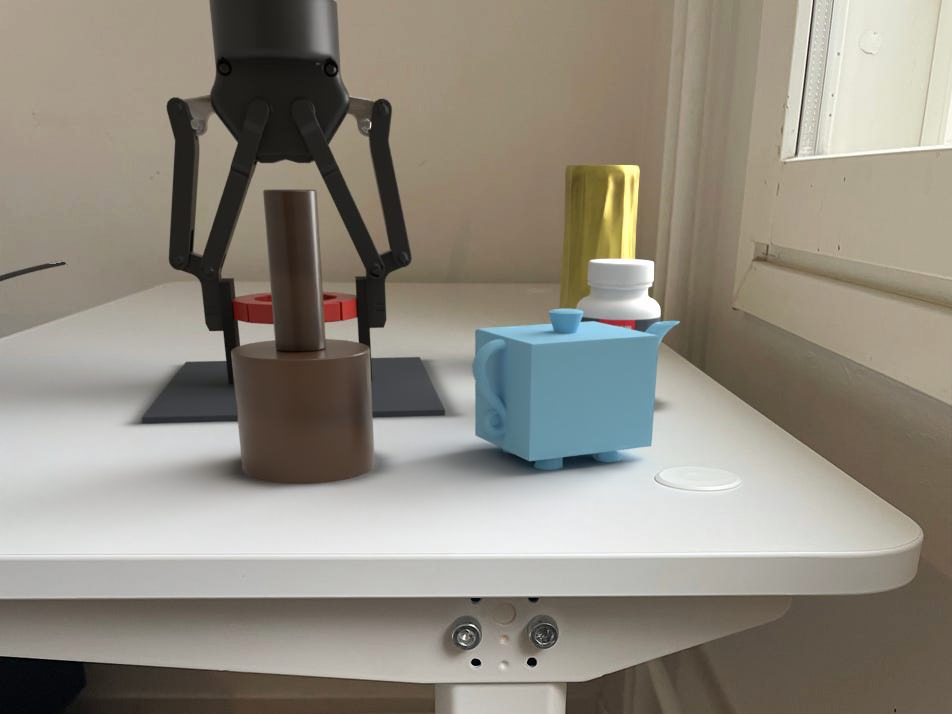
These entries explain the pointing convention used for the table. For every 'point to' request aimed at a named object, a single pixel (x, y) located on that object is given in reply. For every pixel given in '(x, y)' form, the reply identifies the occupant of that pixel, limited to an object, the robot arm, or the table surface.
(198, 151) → the robot arm
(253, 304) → the ring
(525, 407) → the teapot
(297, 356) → the ring holder
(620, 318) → the pill bottle
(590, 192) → the vase
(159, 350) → the table surface
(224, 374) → the mat
